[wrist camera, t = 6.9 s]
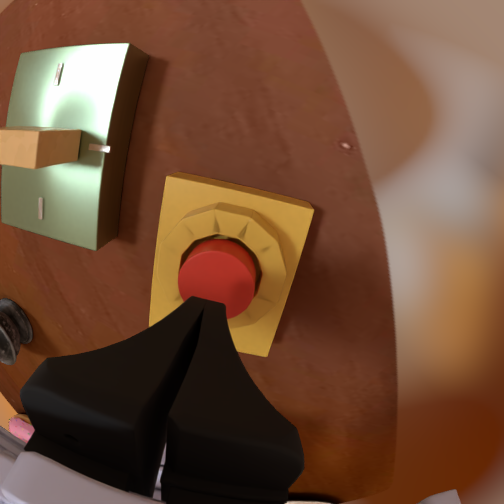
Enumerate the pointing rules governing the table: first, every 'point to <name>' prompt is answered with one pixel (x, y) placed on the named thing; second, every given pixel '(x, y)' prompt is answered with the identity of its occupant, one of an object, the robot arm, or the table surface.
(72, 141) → the handle
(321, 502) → the plate
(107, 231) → the panel
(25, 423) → the doughnut
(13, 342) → the salt shaker
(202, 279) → the button
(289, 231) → the button block
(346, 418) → the table surface
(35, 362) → the table surface
